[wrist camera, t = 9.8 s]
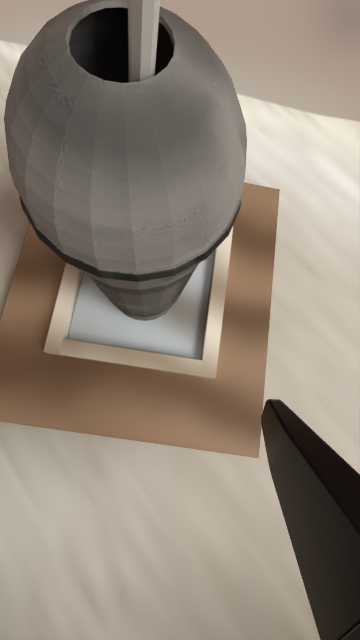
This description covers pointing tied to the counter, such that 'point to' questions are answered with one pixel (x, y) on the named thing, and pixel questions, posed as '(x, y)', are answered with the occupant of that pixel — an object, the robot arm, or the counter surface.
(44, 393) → the base board
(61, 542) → the counter surface
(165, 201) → the beverage cup
